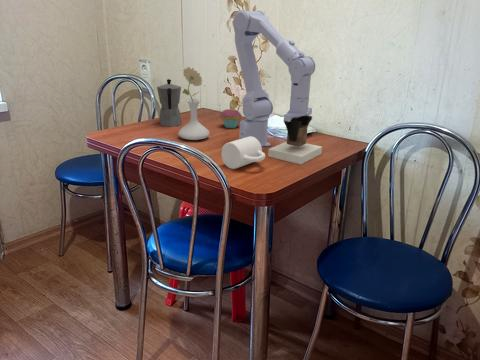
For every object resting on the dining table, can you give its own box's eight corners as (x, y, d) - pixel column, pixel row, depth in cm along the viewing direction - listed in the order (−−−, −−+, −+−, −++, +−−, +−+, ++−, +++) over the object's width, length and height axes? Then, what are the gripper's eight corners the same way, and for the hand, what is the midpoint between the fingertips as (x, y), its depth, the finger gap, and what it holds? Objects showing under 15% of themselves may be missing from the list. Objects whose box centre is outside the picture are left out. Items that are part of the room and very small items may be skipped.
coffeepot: (159, 120, 178) (156, 76, 171) (181, 120, 179) (180, 76, 173) (158, 129, 164) (156, 82, 157) (182, 129, 165) (181, 82, 159)
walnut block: (299, 146, 134) (300, 128, 132) (286, 144, 137) (287, 125, 135) (306, 143, 138) (307, 125, 135) (293, 140, 140) (295, 123, 138)
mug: (220, 165, 128) (221, 140, 125) (242, 158, 135) (243, 133, 132) (251, 175, 121) (252, 149, 118) (272, 167, 128) (273, 141, 125)
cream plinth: (300, 164, 130) (301, 156, 129) (268, 156, 137) (268, 149, 136) (321, 153, 141) (322, 146, 140) (290, 146, 147) (290, 139, 146)
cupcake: (244, 126, 172) (245, 96, 168) (233, 130, 165) (234, 100, 161) (227, 123, 176) (227, 94, 172) (215, 127, 170) (215, 97, 165)
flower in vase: (215, 140, 153) (215, 69, 143) (186, 144, 147) (184, 70, 138) (199, 131, 163) (198, 64, 154) (171, 135, 157) (169, 66, 148)
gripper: (299, 102, 124) (296, 146, 129) (321, 95, 135) (317, 136, 140) (279, 99, 128) (276, 142, 133) (302, 93, 139) (299, 133, 144)
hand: (296, 139), depth 137 cm, fingers closed on walnut block, 4 cm apart
